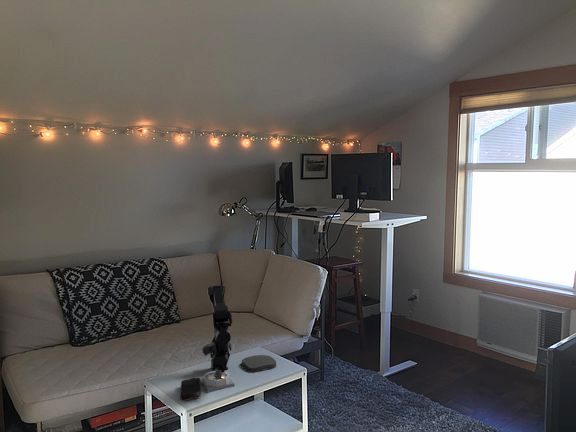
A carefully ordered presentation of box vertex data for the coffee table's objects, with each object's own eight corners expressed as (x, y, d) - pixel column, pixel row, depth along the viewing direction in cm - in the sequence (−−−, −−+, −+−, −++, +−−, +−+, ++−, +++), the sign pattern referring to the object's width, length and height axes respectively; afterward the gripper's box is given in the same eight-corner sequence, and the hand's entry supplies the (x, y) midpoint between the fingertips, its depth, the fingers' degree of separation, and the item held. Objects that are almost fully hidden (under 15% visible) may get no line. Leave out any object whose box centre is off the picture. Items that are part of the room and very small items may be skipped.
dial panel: (224, 376, 230) (223, 367, 229) (234, 386, 219) (234, 376, 218) (198, 381, 224) (198, 372, 224) (208, 392, 213) (207, 382, 213)
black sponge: (201, 400, 206) (201, 391, 206) (180, 402, 204) (179, 394, 204) (200, 384, 222) (200, 376, 221) (180, 386, 220) (180, 378, 220)
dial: (228, 381, 220) (228, 367, 220) (212, 385, 216) (211, 372, 215) (220, 375, 227) (219, 362, 226) (204, 380, 222) (203, 366, 222)
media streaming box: (239, 363, 246) (239, 357, 246) (267, 358, 252) (266, 352, 252) (250, 373, 233) (250, 367, 233) (279, 368, 239) (278, 362, 239)
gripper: (206, 331, 228) (208, 364, 230) (199, 344, 210) (201, 381, 211) (231, 330, 228) (232, 364, 230) (226, 344, 210) (227, 380, 211)
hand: (223, 372), depth 220 cm, fingers closed
